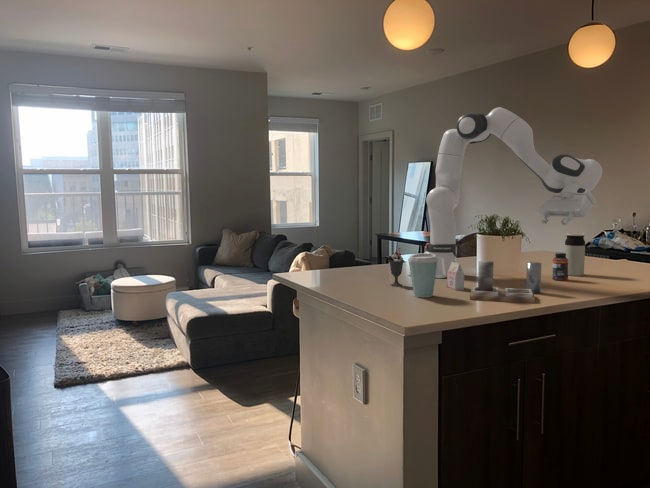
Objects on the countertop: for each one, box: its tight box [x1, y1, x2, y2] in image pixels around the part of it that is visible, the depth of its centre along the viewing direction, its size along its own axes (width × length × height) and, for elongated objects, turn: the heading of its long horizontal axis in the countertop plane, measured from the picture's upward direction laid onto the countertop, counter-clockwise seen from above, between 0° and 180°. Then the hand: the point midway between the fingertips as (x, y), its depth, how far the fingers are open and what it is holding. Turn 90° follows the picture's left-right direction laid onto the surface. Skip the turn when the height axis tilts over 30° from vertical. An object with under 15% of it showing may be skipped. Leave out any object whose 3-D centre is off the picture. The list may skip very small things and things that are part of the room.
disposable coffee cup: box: [407, 252, 438, 298], centre depth 188 cm, size 11×11×15 cm
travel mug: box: [564, 232, 586, 277], centre depth 229 cm, size 8×8×18 cm
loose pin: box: [525, 261, 542, 295], centre depth 192 cm, size 5×5×11 cm
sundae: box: [387, 247, 405, 287], centre depth 209 cm, size 7×7×15 cm
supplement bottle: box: [552, 251, 569, 282], centre depth 217 cm, size 6×6×11 cm
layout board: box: [469, 260, 536, 304], centre depth 183 cm, size 21×12×12 cm, turn 71°
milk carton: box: [446, 262, 465, 291], centre depth 202 cm, size 4×7×10 cm, turn 14°
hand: (553, 223), depth 194 cm, fingers open, 8 cm apart
